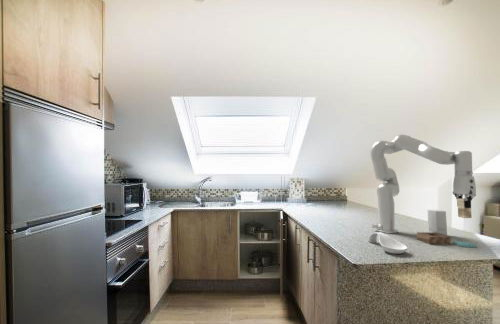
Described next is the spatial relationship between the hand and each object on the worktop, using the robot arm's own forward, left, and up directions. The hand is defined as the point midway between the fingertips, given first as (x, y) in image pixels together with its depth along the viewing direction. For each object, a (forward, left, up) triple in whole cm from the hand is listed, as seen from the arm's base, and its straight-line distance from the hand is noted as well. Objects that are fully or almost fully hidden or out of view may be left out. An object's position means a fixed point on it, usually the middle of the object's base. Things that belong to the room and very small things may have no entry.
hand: (464, 206), depth 142 cm
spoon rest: (-46, -5, -21) cm, 51 cm away
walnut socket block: (-12, +7, -21) cm, 25 cm away
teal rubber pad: (0, 0, -21) cm, 21 cm away
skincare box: (+1, +21, -21) cm, 30 cm away
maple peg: (0, 0, -6) cm, 6 cm away
